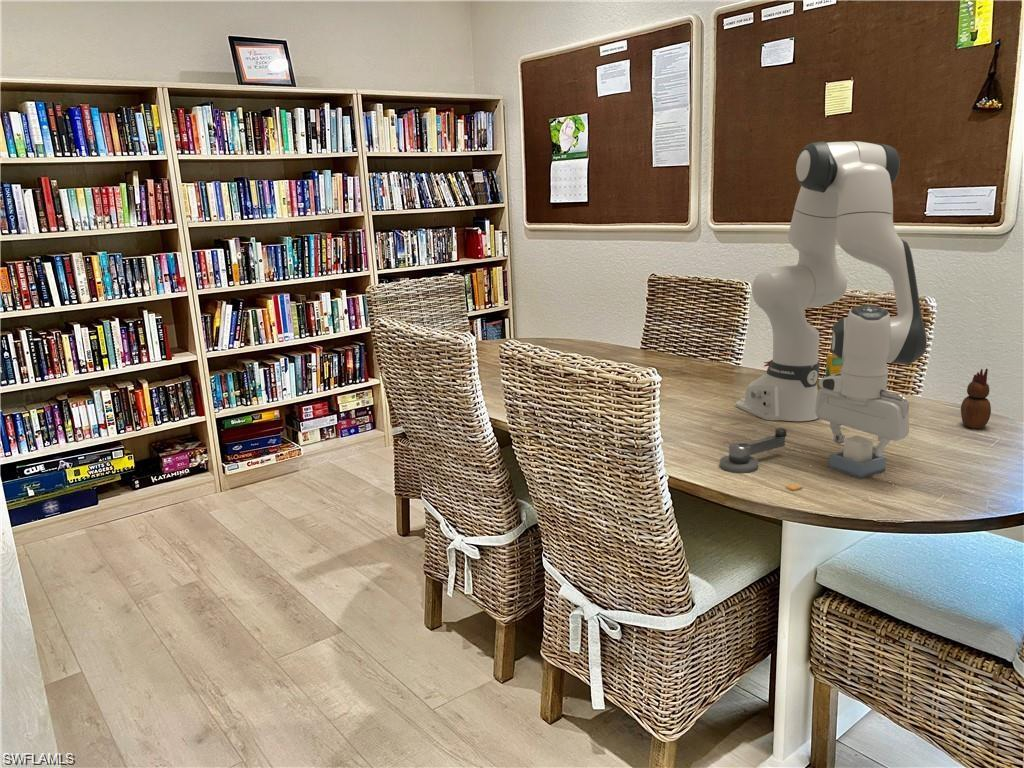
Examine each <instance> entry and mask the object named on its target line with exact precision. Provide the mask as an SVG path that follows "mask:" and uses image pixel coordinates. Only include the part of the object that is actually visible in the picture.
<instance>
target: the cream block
mask: <svg viewBox="0 0 1024 768" xmlns="http://www.w3.org/2000/svg"><path fill="white" fill-rule="evenodd" d="M874 441H875V440H874V439H870V438H866V437H864V436H861V435H855V436H851V437H850V436H849V437H847V438H844V443H843V450H844V452H843V457H844V458H847V459H850V460H853V461H856V462H859V463H862V462H866V461H869V460H872V447H874Z"/></svg>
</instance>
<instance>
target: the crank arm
mask: <svg viewBox="0 0 1024 768" xmlns="http://www.w3.org/2000/svg"><path fill="white" fill-rule="evenodd" d="M787 430H788V429H786V428H784V427H783V428H782V427H778V428H777V427H776V428H775V431H774V434H773V435H770V436H767V437H762V438H759V439H754V440H751V441H747V442H732V443H730V444H729V445H728V455H729V461H731V462H734V463H748V462H749V461H750V457H751V456H753V455H756V454H760V453H764V452H767V451H771V450H775V449H778V448H783V447H785V446H786V437H787V436H788V435H787V434H788V433H787Z"/></svg>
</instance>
